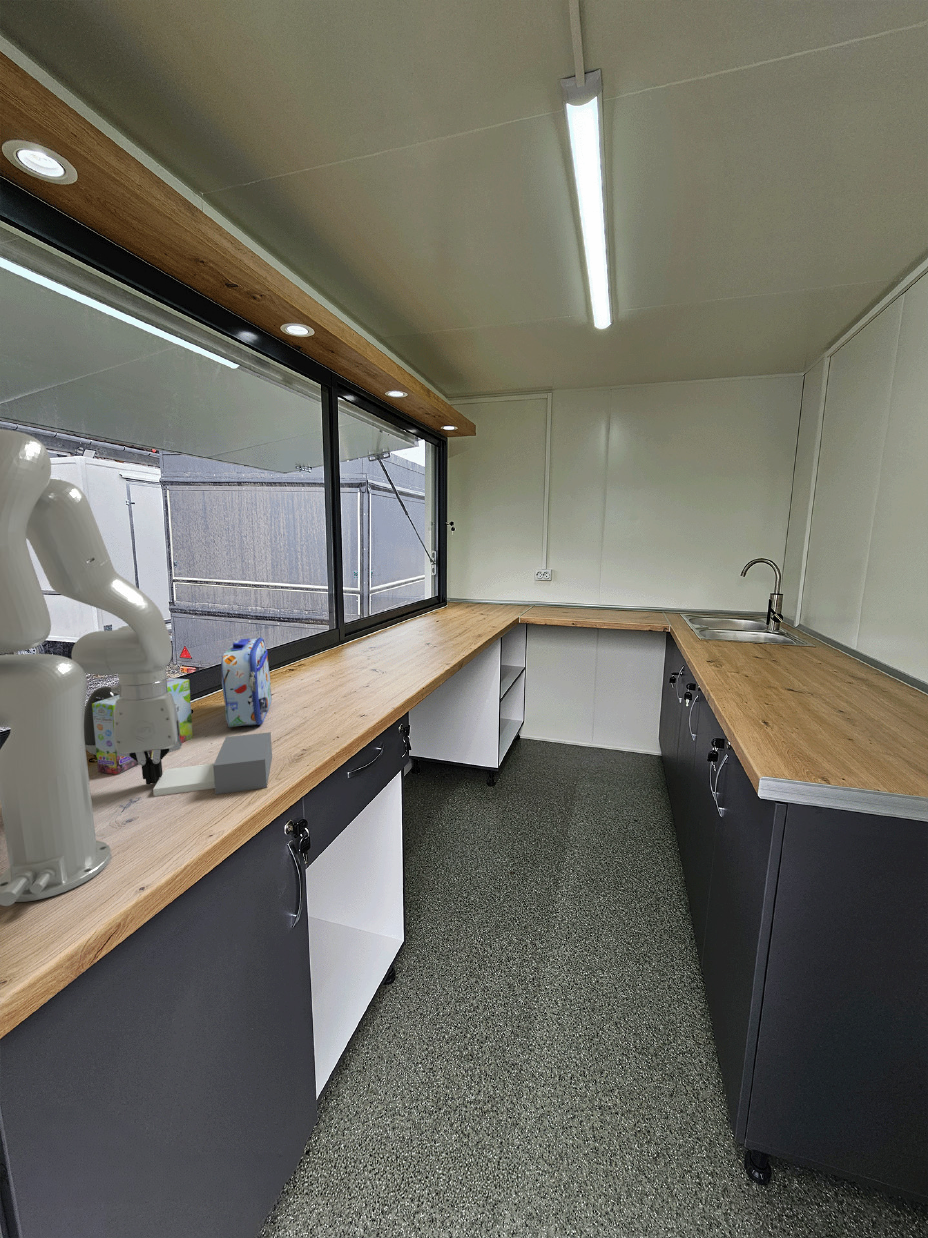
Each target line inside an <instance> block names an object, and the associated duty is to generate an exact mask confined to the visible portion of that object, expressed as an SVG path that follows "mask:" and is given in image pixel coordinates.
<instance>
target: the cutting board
mask: <svg viewBox="0 0 928 1238" xmlns="http://www.w3.org/2000/svg"><path fill="white" fill-rule="evenodd" d="M214 763H215V762H214ZM214 763H206V764H197V765H190V766H182V767H171V768H165V770H164V772H162V777H160V778H159V780H158V781H157V783H156V784H154V785H155V786H154V787H153V788H152V790H153V797H159V796H165V795H176V794H181V793H188V792H195V791H203V790H210V789H215V782H214V769H213V765H214Z"/></svg>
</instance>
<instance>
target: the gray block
mask: <svg viewBox="0 0 928 1238" xmlns="http://www.w3.org/2000/svg"><path fill="white" fill-rule="evenodd" d="M271 733H272V732H261V733H252V734H243V735H242V734H239V735H232V736H226V737H225V738H224V740H223V743H222V744H221V748H220V749H219V752H218V753H217V756H216V758H215V761H214V765H213V769H214V782H215V788H214V792H215V793H214V795H221V794H230V793H235V792H245V791H251V790H252V791H253V790H259V789H264V788H265V789H266V788H268V784H269V776H270V772H271V767H272V761H273V750H272V749H273V748H272V747H273V746H272V745H273V744H272V734H271Z"/></svg>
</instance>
